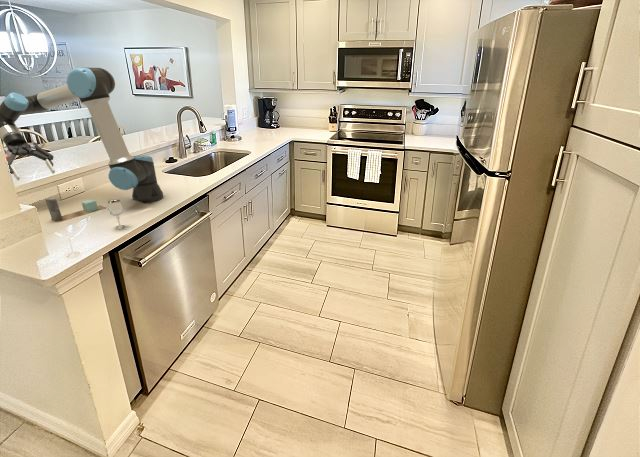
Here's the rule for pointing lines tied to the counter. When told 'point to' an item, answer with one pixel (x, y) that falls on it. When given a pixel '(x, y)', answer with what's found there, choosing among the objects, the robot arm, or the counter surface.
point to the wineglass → (116, 210)
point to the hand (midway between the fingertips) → (36, 175)
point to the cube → (89, 205)
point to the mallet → (57, 216)
